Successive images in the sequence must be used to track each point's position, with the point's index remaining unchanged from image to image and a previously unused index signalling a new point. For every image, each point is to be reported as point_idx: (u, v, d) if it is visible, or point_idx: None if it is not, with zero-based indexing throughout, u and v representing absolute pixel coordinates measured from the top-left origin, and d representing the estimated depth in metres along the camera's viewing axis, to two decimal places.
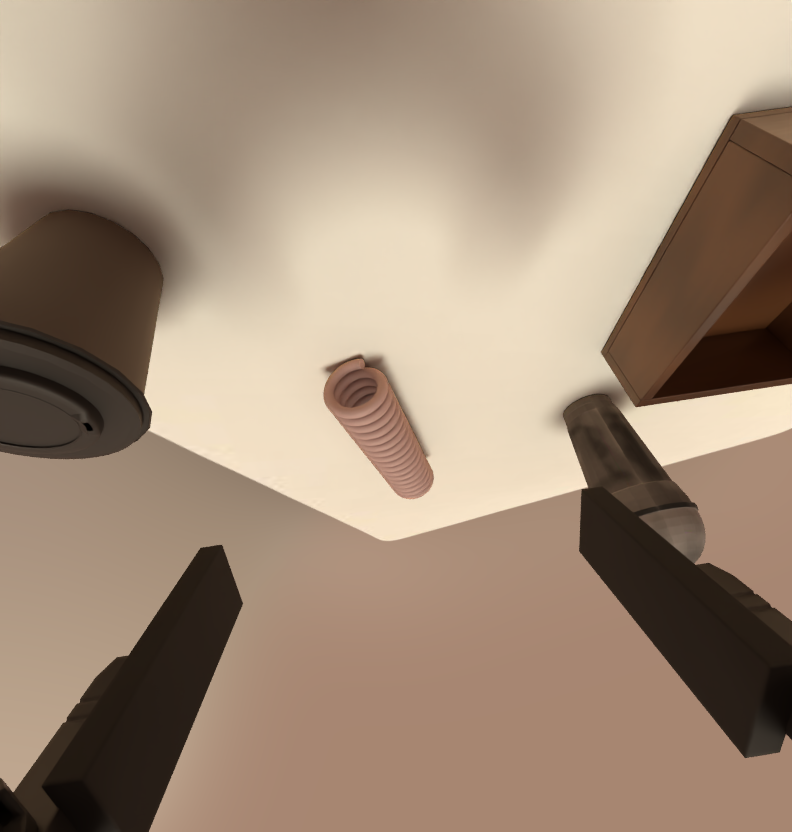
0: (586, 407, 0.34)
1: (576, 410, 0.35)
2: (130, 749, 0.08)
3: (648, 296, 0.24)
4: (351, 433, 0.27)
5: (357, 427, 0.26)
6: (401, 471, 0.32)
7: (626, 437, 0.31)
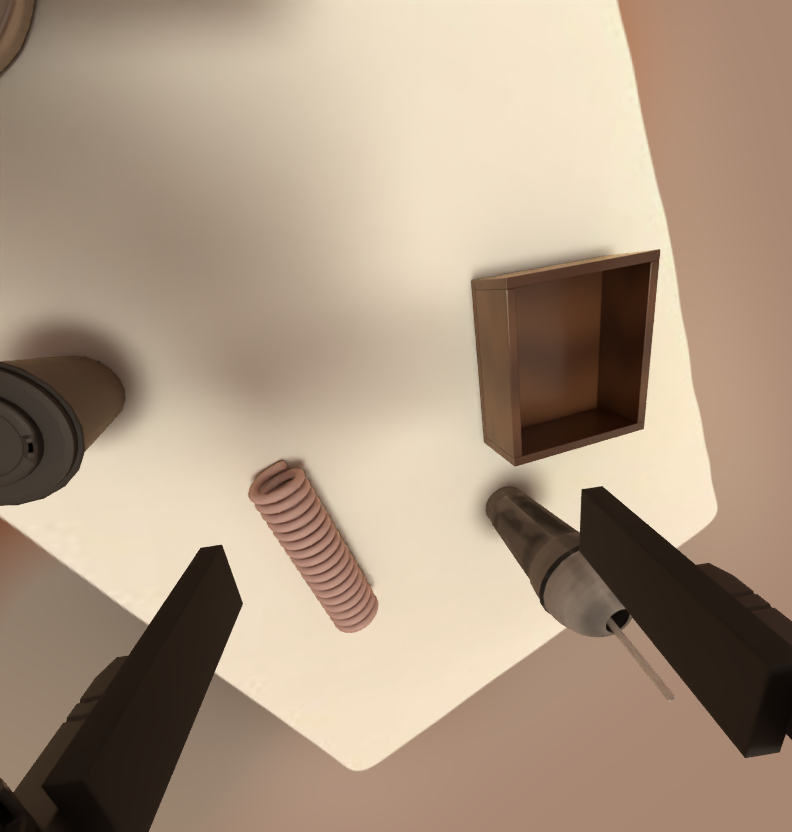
0: (498, 498, 0.38)
1: (492, 503, 0.38)
2: (130, 750, 0.08)
3: (485, 384, 0.33)
4: (274, 528, 0.29)
5: (278, 516, 0.29)
6: (333, 581, 0.32)
7: (534, 509, 0.34)
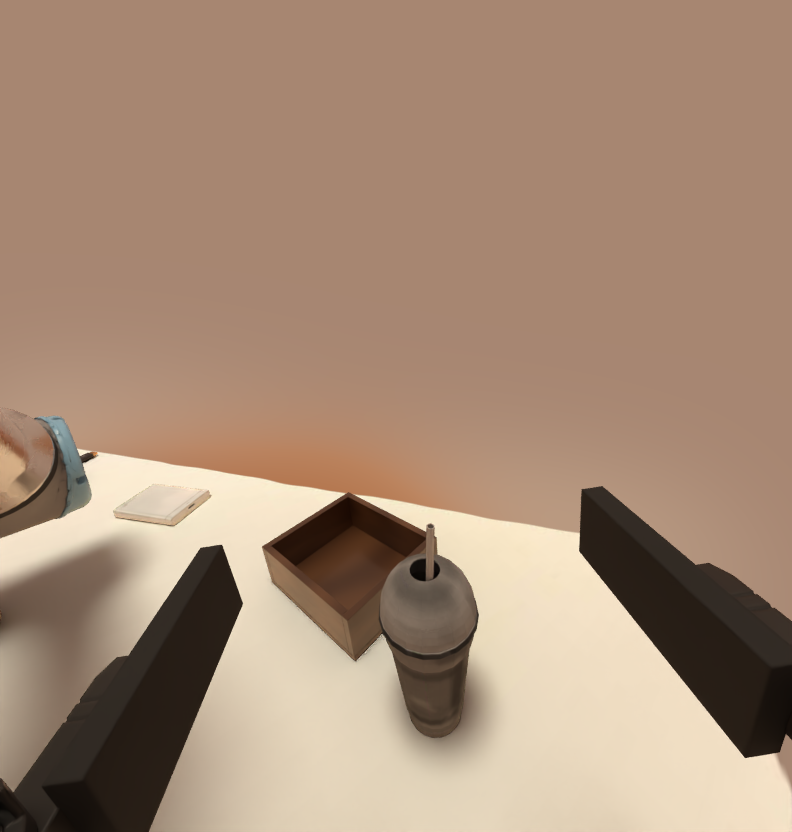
0: None
1: None
2: (131, 749, 0.08)
3: (313, 615, 0.39)
4: None
5: None
6: None
7: None
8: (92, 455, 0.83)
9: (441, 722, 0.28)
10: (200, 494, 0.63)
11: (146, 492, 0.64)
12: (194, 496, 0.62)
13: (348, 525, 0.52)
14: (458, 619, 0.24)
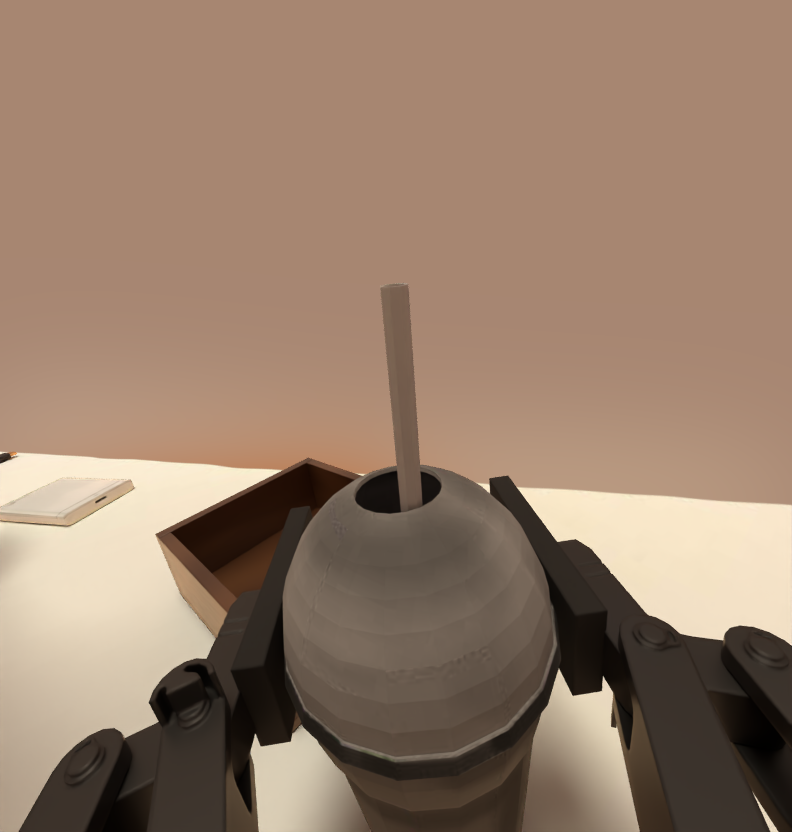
0: None
1: None
2: (281, 654, 0.09)
3: None
4: None
5: None
6: None
7: None
8: (9, 455, 0.67)
9: None
10: (117, 484, 0.46)
11: (48, 487, 0.48)
12: (107, 487, 0.45)
13: (310, 507, 0.36)
14: (511, 629, 0.07)
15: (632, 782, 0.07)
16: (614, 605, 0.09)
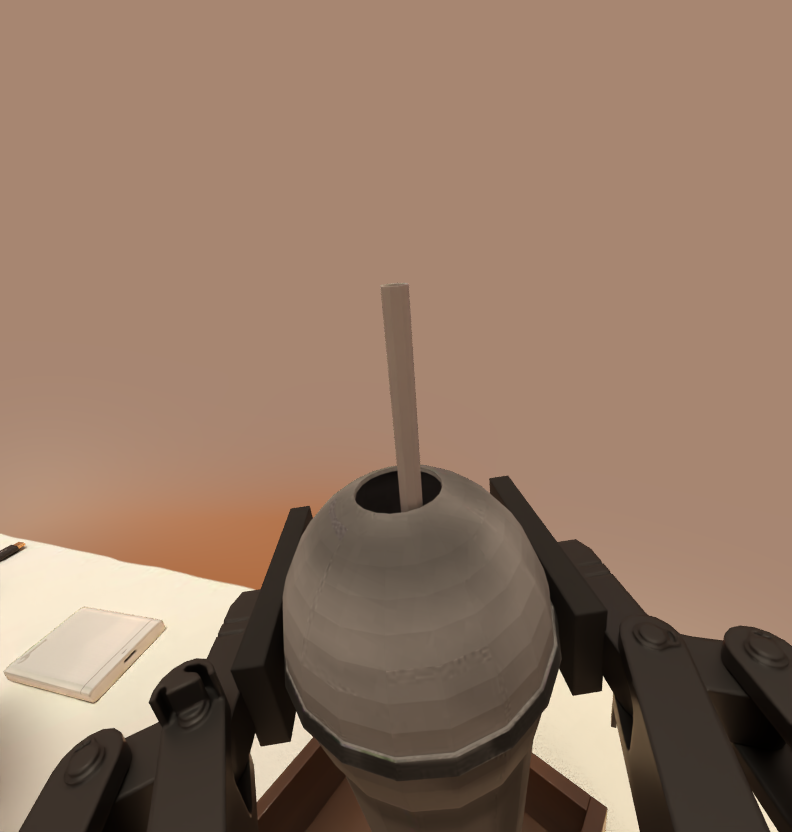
0: None
1: None
2: (281, 654, 0.09)
3: None
4: None
5: None
6: None
7: None
8: (17, 548, 0.61)
9: None
10: (147, 630, 0.40)
11: (66, 627, 0.42)
12: (136, 636, 0.39)
13: None
14: (511, 629, 0.07)
15: (632, 782, 0.07)
16: (614, 605, 0.09)
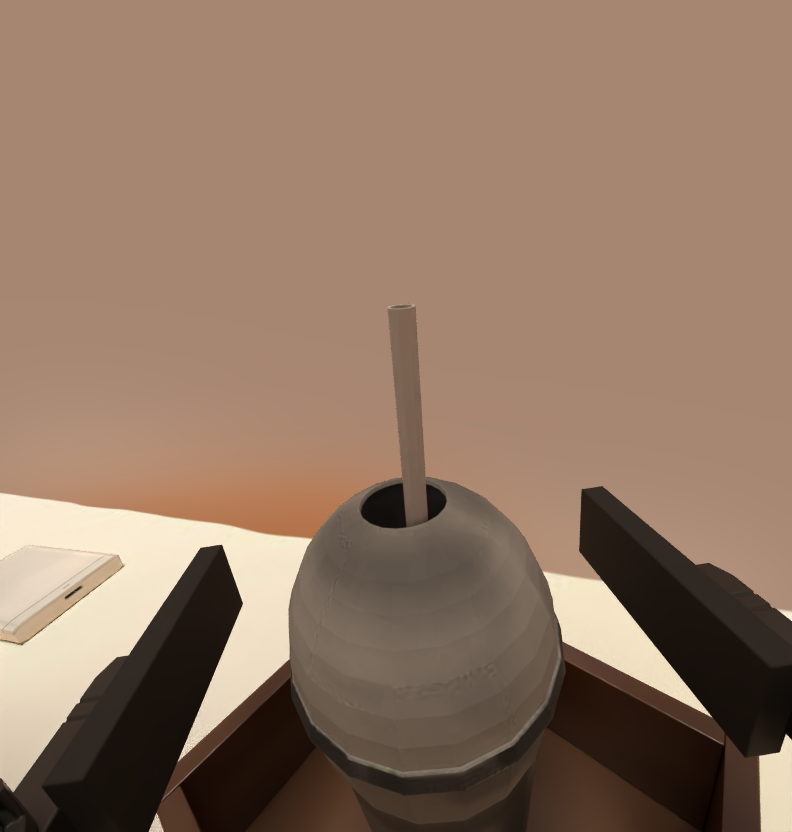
0: None
1: None
2: (131, 750, 0.08)
3: None
4: None
5: None
6: None
7: None
8: None
9: None
10: (98, 564, 0.32)
11: (3, 564, 0.34)
12: (84, 570, 0.32)
13: None
14: (516, 644, 0.07)
15: None
16: None
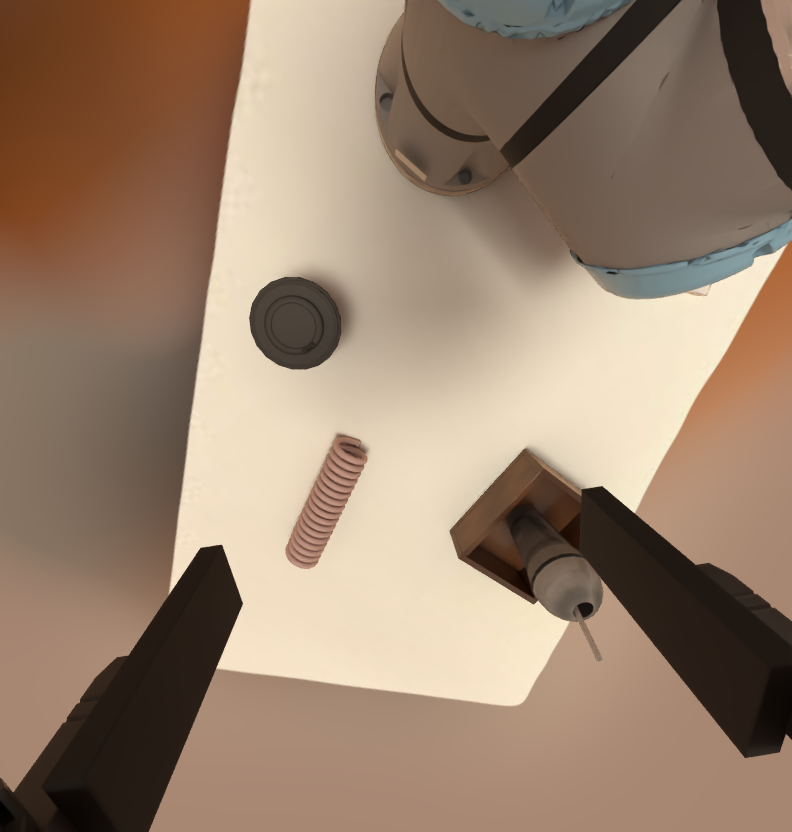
0: (529, 508, 0.49)
1: (522, 508, 0.49)
2: (130, 750, 0.08)
3: (482, 503, 0.49)
4: (328, 471, 0.43)
5: (338, 468, 0.42)
6: (320, 527, 0.44)
7: None
8: None
9: (511, 534, 0.48)
10: (697, 289, 0.41)
11: None
12: None
13: None
14: (549, 611, 0.38)
15: None
16: None
